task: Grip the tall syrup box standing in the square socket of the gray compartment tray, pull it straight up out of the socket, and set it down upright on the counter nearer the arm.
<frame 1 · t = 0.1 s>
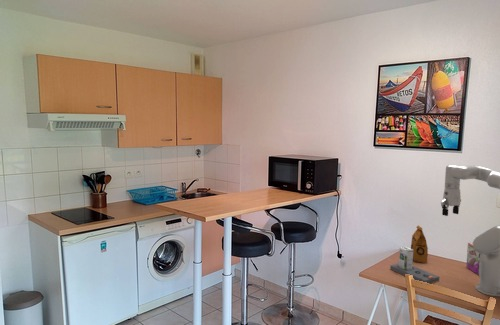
hand: (450, 214, 200), 37 cm above the table, tool pointing down, fingers open, 9 cm apart
candy bar box: (475, 271, 208), on the table
coffee package: (418, 259, 226), on the table
syrup box: (405, 271, 208), resting in gray compartment tray
gray compartment tray: (413, 274, 202), on the table
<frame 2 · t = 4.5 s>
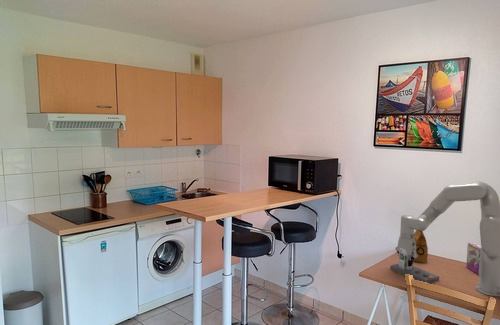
hand: (405, 263, 207), 5 cm above the table, tool pointing down, fingers closed on syrup box, 6 cm apart
syrup box: (405, 271, 208), resting in gray compartment tray, touching gripper
everything else where it was.
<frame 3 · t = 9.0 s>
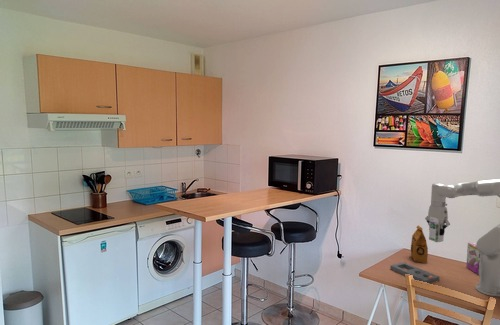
hand: (436, 233, 202), 25 cm above the table, tool pointing down, fingers closed on syrup box, 6 cm apart
syrup box: (436, 240, 202), point 20 cm above the table, touching gripper
everything else where it was.
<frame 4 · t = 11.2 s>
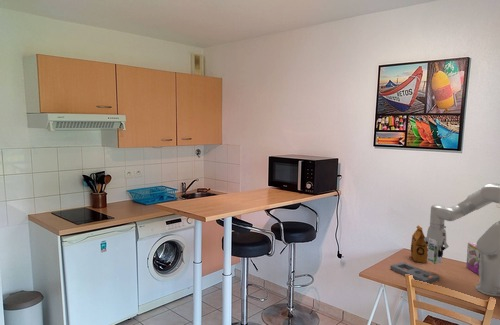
hand: (434, 254, 203), 12 cm above the table, tool pointing down, fingers closed on syrup box, 6 cm apart
syrup box: (434, 262, 204), point 7 cm above the table, touching gripper
everything else where it was.
when the fingers open (6 cm above the table, at t = 13.3 s): syrup box drops 1 cm, on the table.
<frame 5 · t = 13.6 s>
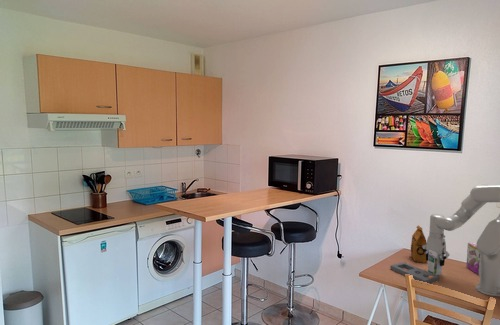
hand: (434, 262, 204), 7 cm above the table, tool pointing down, fingers open, 8 cm apart
syrup box: (434, 273, 204), on the table
everything else where it was.
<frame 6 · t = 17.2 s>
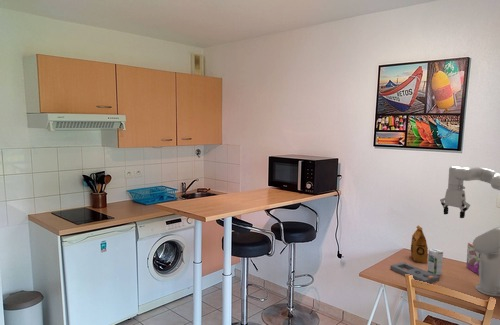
hand: (453, 216, 198), 36 cm above the table, tool pointing down, fingers open, 9 cm apart
nothing on the table moved.
at the end: syrup box inside the target area (0.1 cm from its centre), on the table; syrup box tilted 0°; the gripper is holding nothing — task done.
